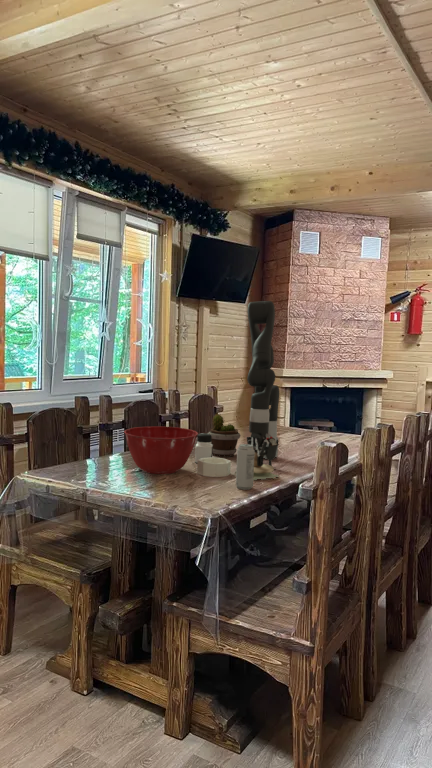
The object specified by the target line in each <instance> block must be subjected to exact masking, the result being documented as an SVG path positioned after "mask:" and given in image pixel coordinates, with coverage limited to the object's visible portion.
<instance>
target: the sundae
mask: <svg viewBox="0 0 432 768" xmlns="http://www.w3.org/2000/svg"><path fill="white" fill-rule="evenodd" d="M267 434H269V433H267ZM267 441H268V442H269V441H270V442H271V444H270V447H269V451H268V454H267V455H266V458H267V459H266V460H268V464H267V465H270V466H273V465H272V463H273V460H275V459H276V458H275V456H276V451H277V446H278V447H279V446H280V444H279V439H278V440H277V441H276V440H275V439H274V438H273V437H272V436H270V438H267ZM274 458H275V459H274Z"/></svg>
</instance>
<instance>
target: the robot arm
mask: <svg viewBox="0 0 432 768" xmlns="http://www.w3.org/2000/svg"><path fill="white" fill-rule="evenodd" d="M275 310H276V309H275V305H274V302H273V301H272V300H266V301H265V300H261V301H249V303H248V305H247V319H248V324H249V325H248V326H249V331H250V332H249V333H250V340H251V356H252V361H251V366H250V368H249V371H248V374H247V377H246V378H247V379H246V380H247V383H248V385H249V386H251V387H254V393H252V394H251V397H250V398H251V399H250V412H249V425H248V432H249V433H251V434H250V436H247V437H246V443H247V444H249V445H253V448H254V450H255V452H257V453H258V456H257V466H263V464H264V460H268V459H267V458H266V455H267V454H268V451H269V447H270V444H271V442H270V441H269V442H268V441H267V438H270V436H272V437H273V438H274V439H275V440H276V441H277V440H278V441H279V437H278V435H277V433H278V416H279V404H280V403H279V402H280V388H279V386H278V385H275V381H276V373H275V371H274V370H273V369H272V367H273V365H274V362H275V358H274V357H275V355H274V354H275V353H274V347H273V346H272V339H273V334H274V326H275V320H276V319H275V317H276V311H275ZM264 324H265V326H264V328H263V330H262V331H261V330H260V328H259V325H264ZM267 433H269V434H267ZM260 452H261V453H260ZM278 453H279V445H278V446H277V451H276V456H275V457H277V458H278ZM263 458H265V459H263Z"/></svg>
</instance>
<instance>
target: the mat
mask: <svg viewBox="0 0 432 768" xmlns="http://www.w3.org/2000/svg"><path fill="white" fill-rule="evenodd" d="M235 473H236V471H235ZM274 477H280V476H279V475H277V474H275V473H273V472H271V473H254V475H253V481H258V480H257V479H261V480H267V479H266V478H273V479H275V478H274Z"/></svg>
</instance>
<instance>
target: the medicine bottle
mask: <svg viewBox="0 0 432 768" xmlns="http://www.w3.org/2000/svg"><path fill="white" fill-rule="evenodd" d="M211 439H212V436H211V435H210V434H208V433H198V435H197V437H196V441H197V442H196V444H195V446H194V448H195V450H194V463H196V464H198V460H199V459H201V458H210V457H213V454H212V449H213V445H212V444H211Z"/></svg>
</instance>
